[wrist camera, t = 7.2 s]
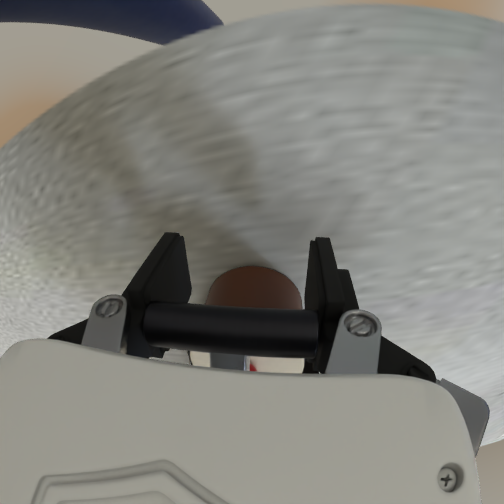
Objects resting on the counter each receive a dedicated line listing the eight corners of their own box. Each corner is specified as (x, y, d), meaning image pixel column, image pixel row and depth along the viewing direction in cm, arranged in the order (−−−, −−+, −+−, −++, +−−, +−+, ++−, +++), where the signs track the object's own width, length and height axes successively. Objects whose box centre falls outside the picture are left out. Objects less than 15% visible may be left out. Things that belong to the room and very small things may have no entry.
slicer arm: (163, 289, 10) (132, 315, 7) (313, 297, 9) (323, 329, 7) (199, 511, 12) (191, 539, 10) (280, 519, 12) (278, 548, 10)
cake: (203, 263, 16) (172, 340, 11) (305, 267, 16) (312, 349, 11) (213, 333, 19) (194, 405, 14) (297, 337, 19) (298, 413, 14)
